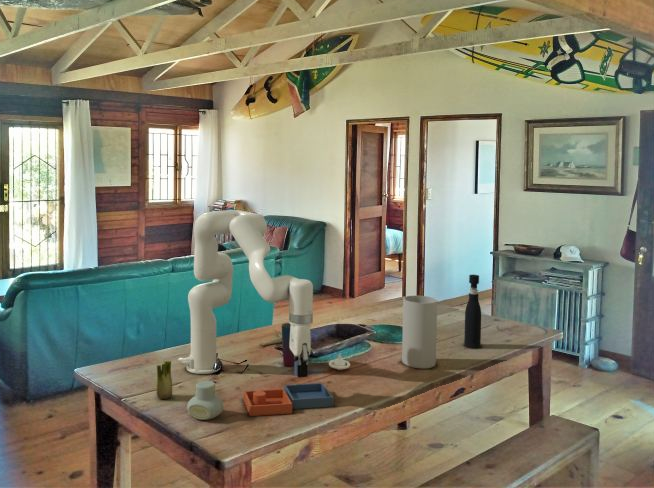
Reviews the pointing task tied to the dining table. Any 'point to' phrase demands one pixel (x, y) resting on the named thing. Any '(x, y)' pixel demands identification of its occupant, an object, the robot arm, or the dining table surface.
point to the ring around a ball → (339, 363)
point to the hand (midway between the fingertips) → (300, 373)
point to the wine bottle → (473, 316)
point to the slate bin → (309, 395)
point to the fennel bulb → (164, 380)
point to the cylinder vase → (419, 331)
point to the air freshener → (205, 402)
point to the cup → (287, 345)
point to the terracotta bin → (272, 408)
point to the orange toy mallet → (262, 399)
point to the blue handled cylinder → (308, 370)
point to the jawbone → (274, 341)
